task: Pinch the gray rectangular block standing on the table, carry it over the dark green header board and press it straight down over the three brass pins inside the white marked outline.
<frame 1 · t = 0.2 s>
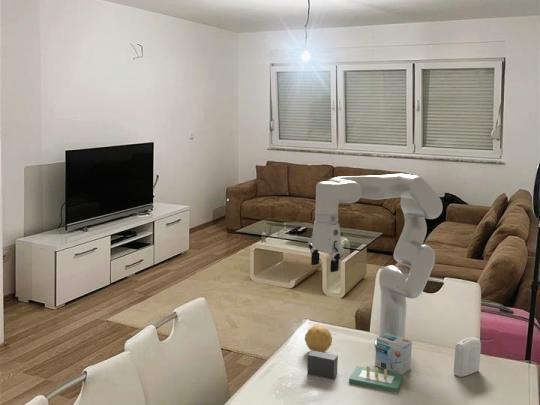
hand: (324, 267, 193), 36 cm above the table, tool pointing down, fingers open, 9 cm apart
white upright block: (466, 372, 197), on the table
gray rectangular block: (322, 374, 194), on the table
header board: (376, 380, 190), on the table
stress ball: (318, 352, 212), on the table
light bulb box: (392, 368, 200), on the table
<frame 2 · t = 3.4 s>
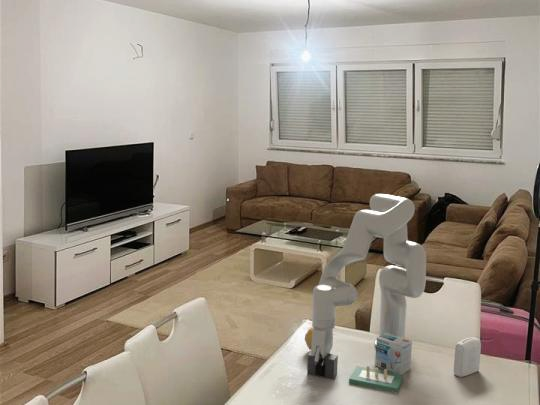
hand: (322, 371, 194), 1 cm above the table, tool pointing down, fingers closed on gray rectangular block, 4 cm apart
gray rectangular block: (322, 374, 194), on the table, touching gripper
everything else where it was.
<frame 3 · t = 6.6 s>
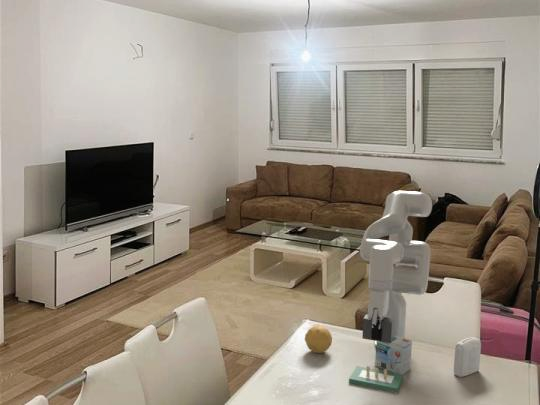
hand: (378, 336, 187), 16 cm above the table, tool pointing down, fingers closed on gray rectangular block, 4 cm apart
gray rectangular block: (377, 338, 187), point 15 cm above the table, touching gripper
everything else where it was.
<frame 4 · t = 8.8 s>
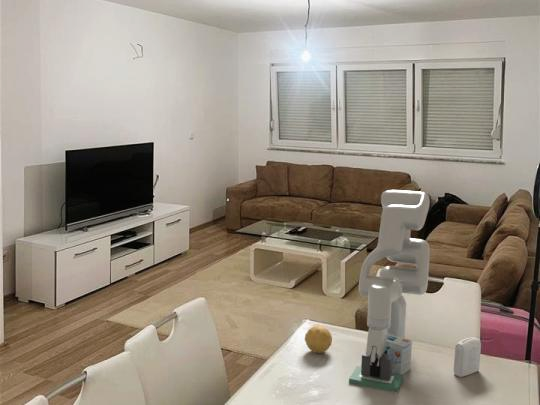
hand: (376, 372, 189), 3 cm above the table, tool pointing down, fingers closed on gray rectangular block, 4 cm apart
gray rectangular block: (376, 375, 189), point 2 cm above the table, touching gripper
everything else where it was.
when the fingers open (2 cm above the table, at t = 9.9 s): gray rectangular block stays where it is, resting on header board.
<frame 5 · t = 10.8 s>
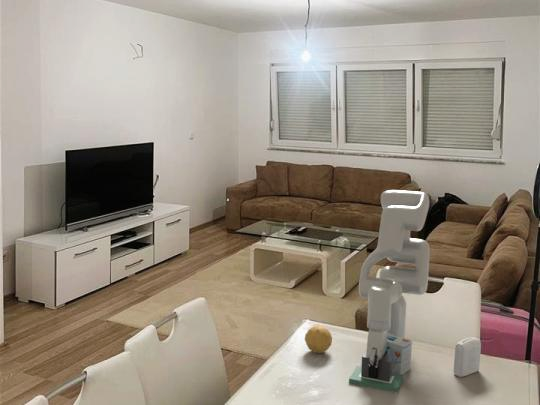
hand: (376, 371, 190), 3 cm above the table, tool pointing down, fingers open, 9 cm apart
gray rectangular block: (376, 376, 190), point 2 cm above the table, touching header board
everything else where it was.
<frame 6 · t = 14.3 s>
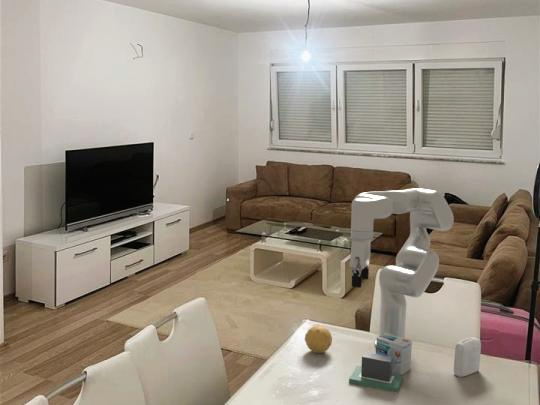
hand: (360, 282, 196), 30 cm above the table, tool pointing down, fingers open, 9 cm apart
nothing on the table moved.
at the end: gray rectangular block 0.1 cm off-centre on the header board, point 1.6 cm above the header board's base; gray rectangular block tilted 0°; the gripper is holding nothing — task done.
